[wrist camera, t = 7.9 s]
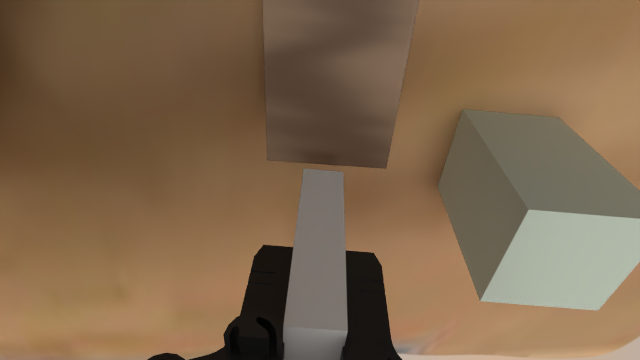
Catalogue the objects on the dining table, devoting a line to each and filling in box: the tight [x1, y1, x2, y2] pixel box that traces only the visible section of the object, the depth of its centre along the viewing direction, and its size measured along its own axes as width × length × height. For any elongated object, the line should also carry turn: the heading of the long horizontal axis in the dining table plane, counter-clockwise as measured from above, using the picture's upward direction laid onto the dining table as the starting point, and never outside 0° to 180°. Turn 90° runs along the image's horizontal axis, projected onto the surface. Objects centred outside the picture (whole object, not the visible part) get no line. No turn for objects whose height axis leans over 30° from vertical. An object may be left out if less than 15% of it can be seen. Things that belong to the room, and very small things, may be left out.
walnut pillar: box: [263, 0, 419, 169], centre depth 15 cm, size 5×5×9 cm
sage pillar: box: [438, 109, 640, 310], centre depth 17 cm, size 5×5×8 cm
